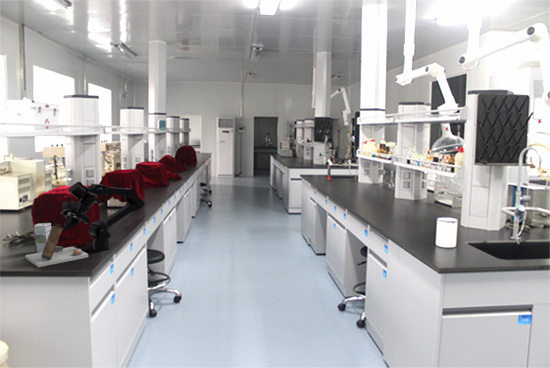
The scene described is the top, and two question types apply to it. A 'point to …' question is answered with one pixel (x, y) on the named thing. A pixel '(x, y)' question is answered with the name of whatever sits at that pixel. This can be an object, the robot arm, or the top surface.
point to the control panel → (55, 257)
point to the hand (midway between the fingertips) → (63, 230)
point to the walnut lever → (51, 242)
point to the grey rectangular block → (58, 248)
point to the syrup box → (41, 235)
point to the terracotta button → (76, 251)
